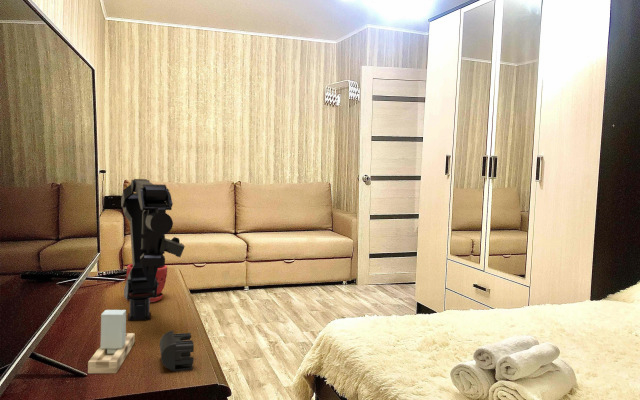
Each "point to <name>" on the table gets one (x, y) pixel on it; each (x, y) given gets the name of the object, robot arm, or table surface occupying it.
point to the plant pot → (160, 278)
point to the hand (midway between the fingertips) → (151, 286)
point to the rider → (113, 330)
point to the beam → (110, 357)
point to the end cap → (177, 351)
